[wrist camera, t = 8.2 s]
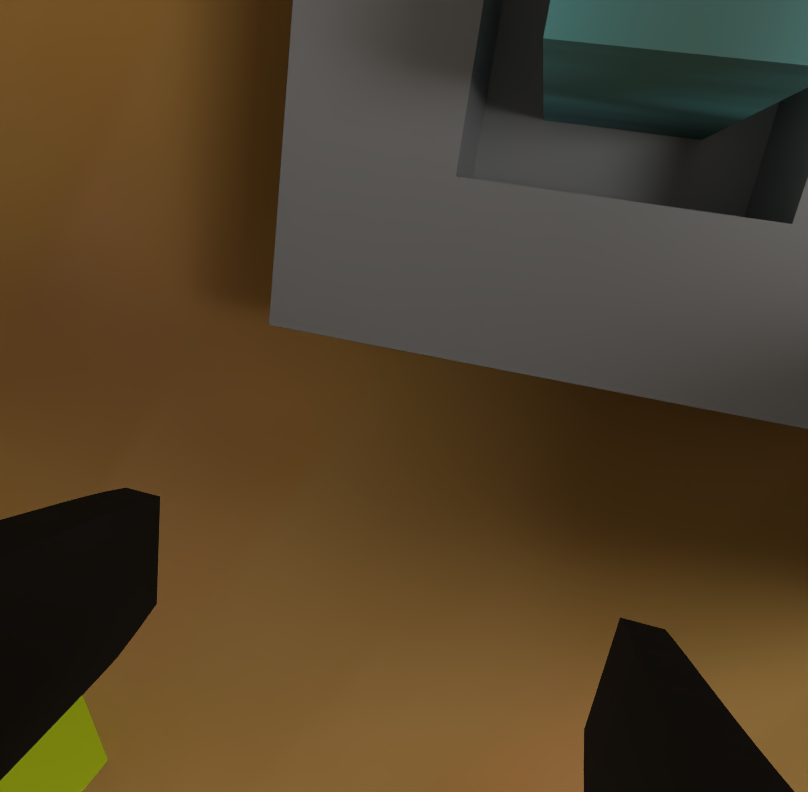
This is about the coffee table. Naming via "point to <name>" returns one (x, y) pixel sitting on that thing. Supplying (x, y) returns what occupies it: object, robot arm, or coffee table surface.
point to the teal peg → (671, 62)
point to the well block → (533, 216)
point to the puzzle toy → (60, 757)
